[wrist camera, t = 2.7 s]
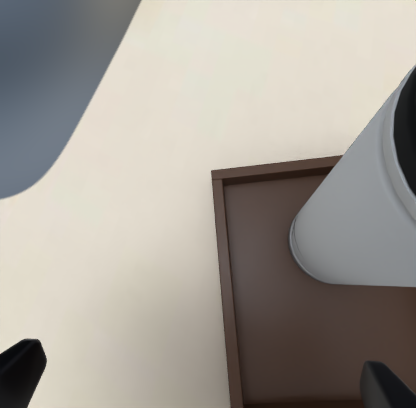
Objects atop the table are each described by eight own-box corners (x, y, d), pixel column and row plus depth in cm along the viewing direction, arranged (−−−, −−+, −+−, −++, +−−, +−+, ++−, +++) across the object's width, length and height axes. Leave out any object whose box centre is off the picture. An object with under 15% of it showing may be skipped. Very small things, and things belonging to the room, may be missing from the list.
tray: (457, 408, 19) (483, 423, 17) (233, 415, 20) (232, 430, 18) (392, 159, 24) (406, 147, 22) (213, 179, 25) (211, 170, 23)
